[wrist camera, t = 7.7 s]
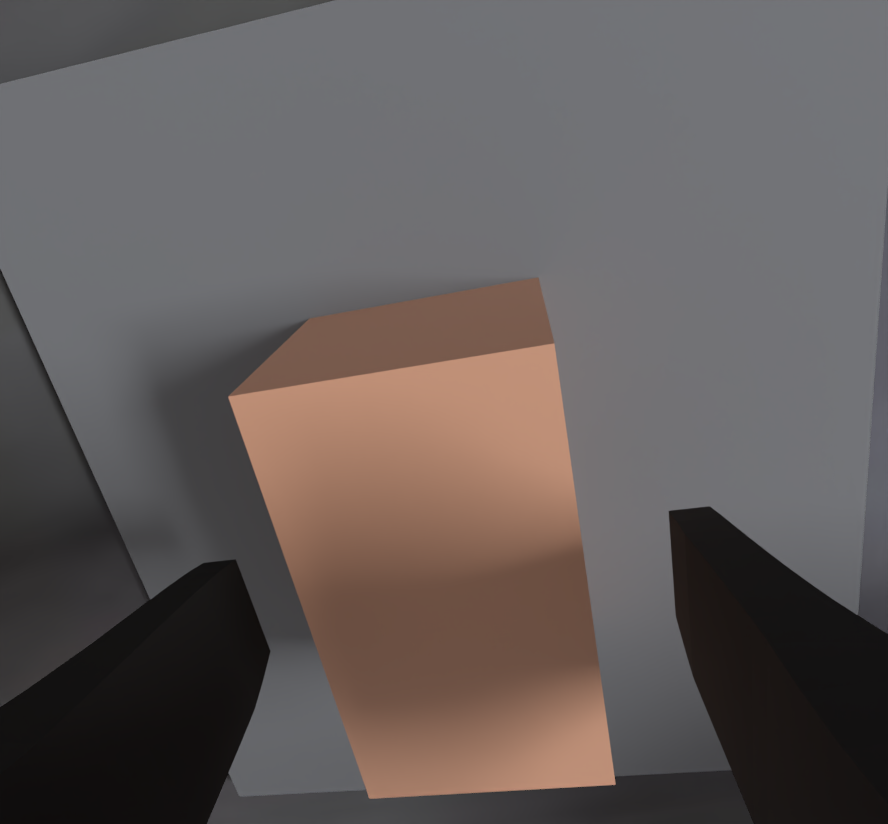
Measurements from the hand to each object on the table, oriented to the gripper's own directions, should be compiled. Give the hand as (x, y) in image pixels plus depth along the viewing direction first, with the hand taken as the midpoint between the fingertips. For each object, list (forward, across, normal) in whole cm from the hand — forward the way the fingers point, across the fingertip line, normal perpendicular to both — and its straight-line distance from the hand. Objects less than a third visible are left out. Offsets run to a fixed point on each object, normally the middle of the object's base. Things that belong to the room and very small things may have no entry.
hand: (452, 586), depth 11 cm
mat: (+4, 0, 0) cm, 4 cm away
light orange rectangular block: (+3, 0, 0) cm, 3 cm away
